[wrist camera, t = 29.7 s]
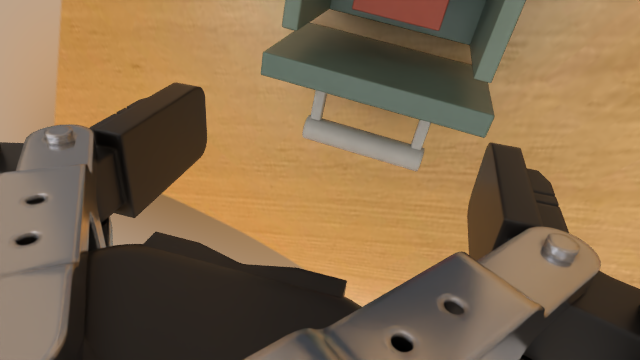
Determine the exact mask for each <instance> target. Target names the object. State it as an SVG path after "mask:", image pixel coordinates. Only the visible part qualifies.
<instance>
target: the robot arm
mask: <svg viewBox="0 0 640 360" xmlns="http://www.w3.org/2000/svg"><path fill="white" fill-rule="evenodd" d="M206 143H207V127H206V107H205V95H204V91H203V89H202V88H201V87H197V86H192V85H187V84H181V83H173V84H171V85H169V86H168V87H166V88H164V89H162V90H160V91H159V92H157V93H155V94H153V95H152V96H150V97H148V98H144V99H141V100H138V101H136V102H134V103H133V104H131V105H129V106H127V109H126V108H124V109H122V110H120V111H118V112H117V114H113V115H111V116H109V117H108V118H106V119H104V120H102V121H101V122H99V123H97V124H95V125H93V126H92V127H90V128H87V127H84V126H79V125H57V126H51V127H47V128H43V129H40V130H38V131H36V132H33V133H32V134H30V135H29V136H28V137H27V138H26V140H25V142H24V143H0V360H640V289H638V288H636V287H633V286H631V285H628V284H626V283H624V282H621V281H619V280H616V279H614V278H612V277H610V276H608V275H606V274H604V273H602V272H601V271H599V269H600V267H601V261H600V259H599V256H598V255H597V253H596V252H595V251H594V250H593V249H592V248H591V247H590V246H589V245H588V244H587V243H585V242H584V241H582V240H581V239H579V238H577V237H576V236H574V235H572V234H569V231H568V229H567V226H566V223H565V221H564V218H563V215H562V212H561V210H560V207H558V205H559V204H558V202H557V199H556V197H555V193H554V191H553V188H552V185H551V183H550V182H549V181H548V180H547V179H546V178H545V177H544V176H543V175H542V174H541V173H540V172H539V171H537V170H532V169H527V168H526V165H525V161H524V158H523V155H522V151H521V149H520V148H517V147H512V146H506V145H501V144H496V143H489V145H488V146H487V149H486V151H485V154H484V157H483V160H482V163H481V166H480V169H479V172H478V175H477V178H476V182H475V185H474V188H473V191H472V194H471V197H470V201H469V206H468V215H467V218H468V242H469V255H468V254H466V253H465V252H457V253H455V254H453V255H451V256H449V257H448V258H446V259H444V260H443V261H441V262H439V263H437V264H436V265H434V266H432V267H431V268H429V269H427V270H425V271H424V272H422V273H420V274H418V275H417V276H415V277H413V278H412V279H410V280H408V281H406V282H405V283H403V284H401V285H400V286H398V287H396V288H394V289H393V290H391V291H389V292H387V293H386V294H384V295H382V296H381V297H379V298H377V299H375V300H374V301H372V302H370V303H368V304H367V305H365V306H363V307H361V306H360V305H358V304H356V303H355V302H353V301H352V300H350V299H348V298H346V297H344V295H345V289H346V283H347V281H346V280H342V279H339V278H335V277H331V276H327V275H323V274H319V273H315V272H311V271H307V270H303V269H300V268H292V267H276V266H260V265H246V264H241V263H239V262H236V261H234V260H232V259H230V258H229V257H227V256H225V255H223V254H221V253H219V252H217V251H215V250H213V249H211V248H209V247H207V246H205V245H203V244H201V243H198V242H194V241H190V240H186V239H183V238H178V237H175V236H171V235H167V234H163V233H159V232H155V233H154V234H153V235H152V236H151V237H150V238H149V239H148V240H147V241H146V242H145V243H144V244H125V245H116V246H113V243H112V242H113V241H112V224H111V219H110V215H112V214H113V213H116V214H120V215H124V216H128V217H133V218H135V217H136V216H137V215H138V214H140V213H141V212H142V211H143V210H144V209H145V208H146V207H147V206H148V205H149V204H150V203H152V202H153V201H154V200H155V199H156V198H157V197H158V196H159V195H160V194H161V193H162V192H164V191H165V190H166V189H167V188H168V187H169V186H170V185H171V184H172V183H173V182H174V181H175V180H177V179H178V178H179V177H180V176H181V175H182V174H183V173H184V172H185V171H186V170H187V169H188V168H190V167H191V166H192V165H193V164H194V163H195V162H196V161H197V160H198V159H199V158H200V157H201V156H202V155H203V153H204V151H205V148H206Z"/></svg>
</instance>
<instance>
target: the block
mask: <svg viewBox="0 0 640 360" xmlns="http://www.w3.org/2000/svg"><path fill="white" fill-rule="evenodd" d="M448 3H449V0H354V1H353V5H352V9H353V10H357V11H361V12H365V13H369V14H373V15H377V16H381V17H385V18H389V19H393V20H397V21H401V22H404V23H408V24H412V25H416V26H420V27H424V28H428V29H432V30H436V31H439V30H440V28H441V25H442V21H443V18H444V15H445V12H446V9H447V6H448Z"/></svg>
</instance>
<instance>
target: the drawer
mask: <svg viewBox="0 0 640 360" xmlns="http://www.w3.org/2000/svg"><path fill="white" fill-rule="evenodd" d="M353 1H354V0H285V7H284V15H283V22H282V27H284V28H287V29H291V30H295V31H294V32H292V33H291V34H289V35H288V36H286V37H285V38H284V39H282V40H281V41H279V42H278V43H276V44H275V45H273V46H272V47H270V48H269V49H267V50H266V51H264V52H263V58H262V67H261V75H264V76H268V77H271V78H275V79H278V80H282V81H286V82H289V83H293V84H296V85H300V86H303V87H307V88H310V89H314V90H316V91H315V96H314V102H313V107H312V112H311V115H309V116H308V117H307V119H306V122H305V125H304V129H303V138H306V139H310V140H313V141H316V142H320V143H323V144H326V145H330V146H333V147H336V148H340V149H343V150H346V151H350V152H353V153H356V154H360V155H363V156H367V157H370V158H373V159H377V160H380V161H383V162H387V163H390V164H393V165H397V166H400V167H403V168H407V169H410V170H413V171H418V169H419V166H420V164H421V161H422V158H423V154H424V148H422V146H423V143H424V140H425V138H426V135H427V132H428V129H429V127H430V124H431V123H434V124H437V125H441V126H444V127H448V128H451V129H455V130H458V131H462V132H466V133H469V134H473V135H476V136H480V137H483V138H485V137H486V135H487V133H488V130H489V128H490V126H491V124H492V121H493V119H494V111H493V106H492V101H491V96H490V91H489V86H488V83H491V82H492V80H493V77H494V75H495V73H496V70H497V68H498V65H499V63H500V61H501V58H502V56H503V54H504V51H505V49H506V46H507V44H508V42H509V39H510V37H511V35H512V32H513V30H514V27H515V25H516V23H517V20H518V18H519V16H520V13H521V11H522V8H523V6H524V4H525V1H526V0H449V3H448V6H447V9H446V12H445V15H444V18H443V21H442V25H441V28H440V30H439V31H436V30H432V29H428V28H424V27H420V26H416V25H412V24H408V23H404V22H401V21H397V20H393V19H389V18H385V17H381V16H377V15H373V14H369V13H365V12H361V11H357V10H353V9H352V5H353ZM328 9H332V10H336V11H340V12H344V13H348V14H351V15H355V16H359V17H363V18H367V19H371V20H375V21H378V22H382V23H386V24H390V25H394V26H398V27H402V28H406V29H409V30H413V31H417V32H421V33H425V34H429V35H433V36H437V37H440V38H444V39H448V40H452V41H456V42H460V43H464V44H467V45H470V50H471V59H472V65H469V64H465V63H461V62H457V61H454V60H450V59H446V58H442V57H439V56H435V55H431V54H427V53H423V52H420V51H416V50H412V49H408V48H404V47H401V46H397V45H393V44H389V43H385V42H382V41H378V40H374V39H370V38H367V37H363V36H359V35H355V34H351V33H348V32H344V31H340V30H336V29H332V28H329V27H325V26H321V25H317V24H314V23H310V21H312V20H313V19H315V18H316V17H318V16H319V15H321V14H322V13H324V12H325V11H327V10H328ZM327 93H328V94H331V95H335V96H338V97H342V98H346V99H349V100H353V101H356V102H360V103H363V104H367V105H370V106H374V107H377V108H381V109H384V110H388V111H391V112H395V113H398V114H402V115H406V116H409V117H413V118H416V119H420V120H419V123H418V126H417V128H416V131H415V134H414V137H413V140H412V143H411V144H408V143H404V142H401V141H398V140H394V139H391V138H387V137H384V136H380V135H377V134H374V133H370V132H367V131H363V130H360V129H356V128H353V127H349V126H346V125H343V124H339V123H336V122H332V121H329V120H325V119H322V116H323V111H324V106H325V102H326V97H327Z"/></svg>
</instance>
